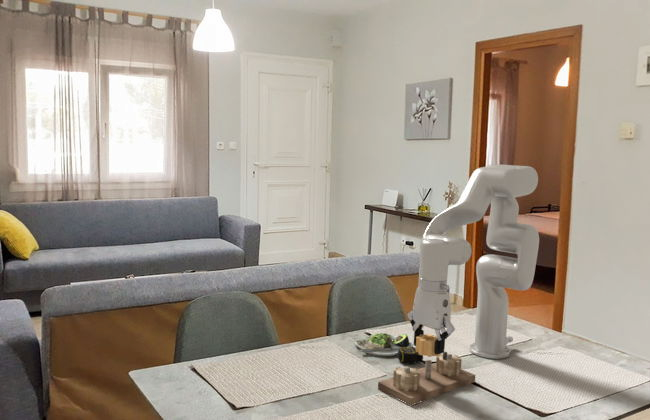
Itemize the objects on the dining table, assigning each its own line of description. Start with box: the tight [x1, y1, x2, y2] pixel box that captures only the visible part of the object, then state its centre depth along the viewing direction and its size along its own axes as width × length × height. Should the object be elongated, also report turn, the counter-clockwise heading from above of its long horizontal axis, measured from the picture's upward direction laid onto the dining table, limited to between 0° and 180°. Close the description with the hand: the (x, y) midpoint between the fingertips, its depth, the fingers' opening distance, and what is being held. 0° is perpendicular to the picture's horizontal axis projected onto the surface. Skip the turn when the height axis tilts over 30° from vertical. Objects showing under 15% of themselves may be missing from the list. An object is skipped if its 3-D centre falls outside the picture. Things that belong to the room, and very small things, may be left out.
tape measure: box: [396, 346, 424, 365], centre depth 177 cm, size 7×7×4 cm
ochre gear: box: [415, 333, 443, 358], centre depth 158 cm, size 7×7×4 cm
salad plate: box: [354, 332, 416, 357], centre depth 187 cm, size 19×18×5 cm
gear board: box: [377, 351, 476, 406], centre depth 159 cm, size 26×12×8 cm, turn 128°
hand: (428, 348), depth 158 cm, fingers closed on ochre gear, 6 cm apart
